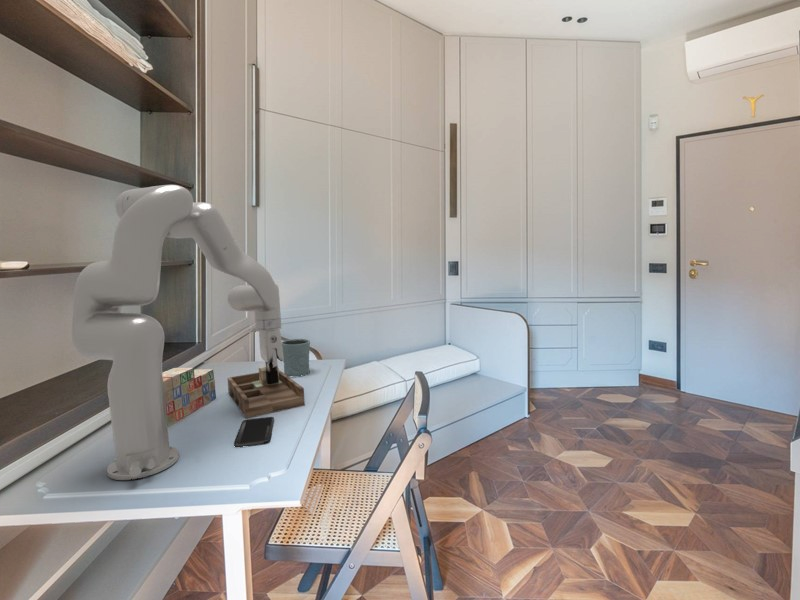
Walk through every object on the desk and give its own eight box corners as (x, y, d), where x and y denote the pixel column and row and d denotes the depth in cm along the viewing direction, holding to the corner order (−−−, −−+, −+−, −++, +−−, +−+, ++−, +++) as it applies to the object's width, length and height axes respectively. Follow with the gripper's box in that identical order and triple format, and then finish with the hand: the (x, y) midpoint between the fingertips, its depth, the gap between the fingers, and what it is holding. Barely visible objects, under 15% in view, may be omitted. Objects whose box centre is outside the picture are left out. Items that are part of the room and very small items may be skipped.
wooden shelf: (304, 405, 118) (303, 388, 118) (246, 418, 110) (244, 400, 109) (279, 383, 140) (278, 369, 140) (228, 393, 132) (227, 377, 131)
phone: (232, 445, 92) (242, 419, 107) (233, 449, 92) (243, 424, 107) (269, 440, 94) (274, 416, 109) (270, 445, 94) (274, 420, 109)
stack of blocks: (197, 398, 128) (194, 359, 127) (216, 398, 127) (213, 359, 126) (146, 426, 107) (141, 380, 106) (168, 427, 106) (163, 380, 105)
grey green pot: (288, 370, 157) (286, 339, 156) (314, 369, 156) (312, 338, 155) (279, 378, 147) (277, 344, 146) (307, 377, 146) (305, 343, 145)
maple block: (279, 383, 132) (278, 367, 131) (263, 386, 129) (262, 370, 129) (275, 379, 136) (274, 364, 135) (259, 382, 133) (258, 367, 133)
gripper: (287, 325, 122) (291, 386, 124) (274, 320, 134) (278, 375, 136) (261, 329, 118) (266, 391, 120) (250, 322, 131) (254, 379, 133)
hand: (272, 382), depth 128 cm, fingers closed
